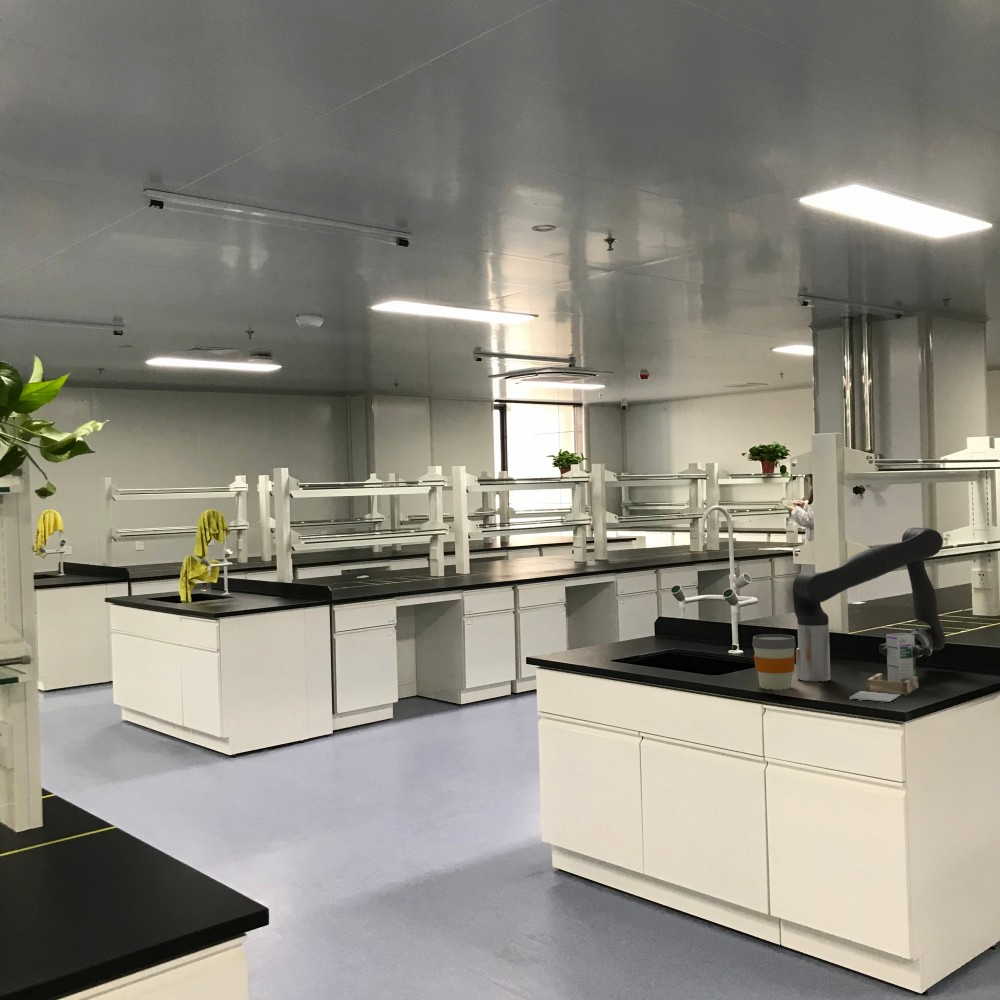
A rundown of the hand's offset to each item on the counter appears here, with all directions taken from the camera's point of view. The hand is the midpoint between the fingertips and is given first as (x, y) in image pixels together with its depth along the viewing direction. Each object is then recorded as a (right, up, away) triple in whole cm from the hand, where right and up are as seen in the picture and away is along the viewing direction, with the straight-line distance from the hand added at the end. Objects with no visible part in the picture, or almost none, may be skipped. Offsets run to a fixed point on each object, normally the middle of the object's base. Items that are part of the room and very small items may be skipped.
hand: (899, 653), depth 295 cm
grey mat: (-14, -10, -17) cm, 24 cm away
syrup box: (+1, -9, +2) cm, 9 cm away
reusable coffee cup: (-36, -11, +3) cm, 38 cm away
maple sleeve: (-5, -10, -7) cm, 13 cm away
